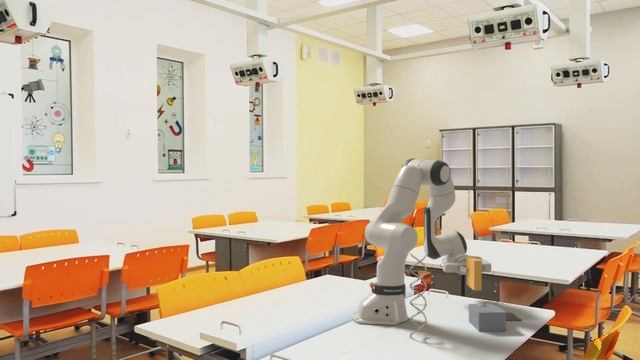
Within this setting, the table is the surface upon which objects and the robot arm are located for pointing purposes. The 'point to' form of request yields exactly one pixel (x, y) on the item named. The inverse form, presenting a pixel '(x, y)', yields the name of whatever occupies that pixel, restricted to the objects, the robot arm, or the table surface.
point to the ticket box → (487, 317)
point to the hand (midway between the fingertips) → (472, 270)
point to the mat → (512, 317)
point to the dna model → (419, 296)
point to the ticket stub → (474, 273)
